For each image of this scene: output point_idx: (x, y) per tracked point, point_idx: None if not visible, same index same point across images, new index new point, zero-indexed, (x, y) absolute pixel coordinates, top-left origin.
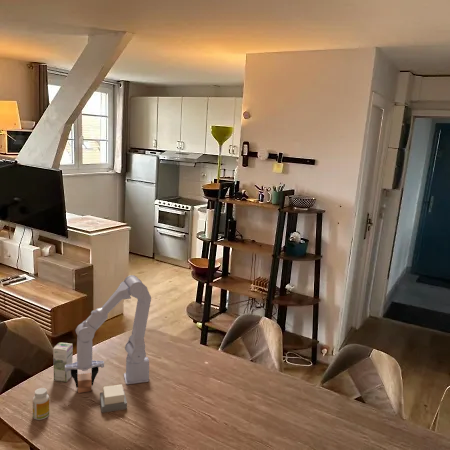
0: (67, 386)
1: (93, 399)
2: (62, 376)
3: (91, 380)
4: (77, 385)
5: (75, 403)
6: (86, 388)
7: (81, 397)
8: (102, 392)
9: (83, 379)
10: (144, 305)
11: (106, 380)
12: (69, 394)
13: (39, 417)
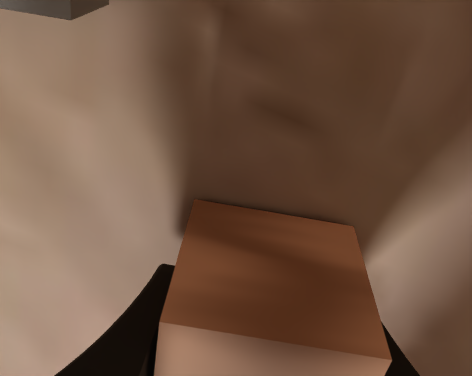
0: None
1: (200, 16)
2: None
3: (164, 309)
4: None
5: (464, 23)
6: (253, 236)
7: (339, 130)
8: (25, 6)
9: (290, 369)
10: None
11: (17, 313)
12: (446, 241)
13: None
